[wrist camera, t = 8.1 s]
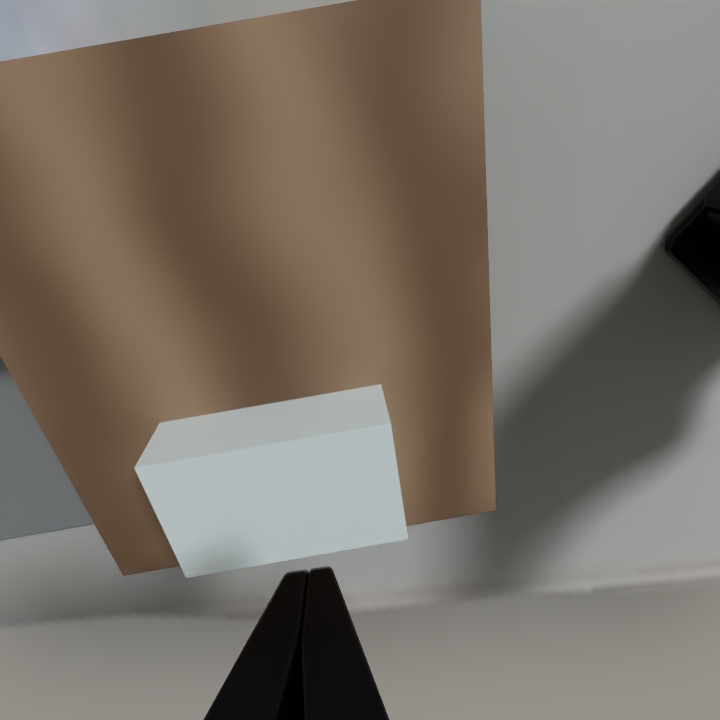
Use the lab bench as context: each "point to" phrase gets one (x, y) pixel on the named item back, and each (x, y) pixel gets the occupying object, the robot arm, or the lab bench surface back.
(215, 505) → the pale blue slide box
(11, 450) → the slate mat
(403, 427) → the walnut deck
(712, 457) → the lab bench surface
